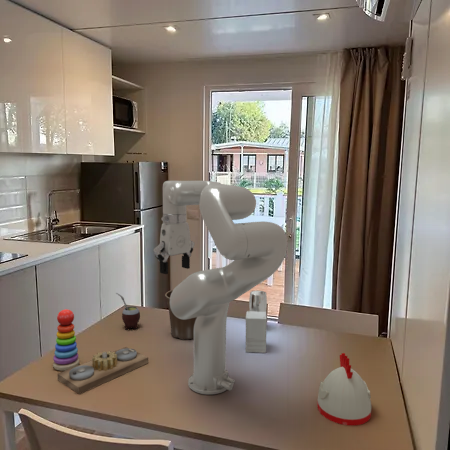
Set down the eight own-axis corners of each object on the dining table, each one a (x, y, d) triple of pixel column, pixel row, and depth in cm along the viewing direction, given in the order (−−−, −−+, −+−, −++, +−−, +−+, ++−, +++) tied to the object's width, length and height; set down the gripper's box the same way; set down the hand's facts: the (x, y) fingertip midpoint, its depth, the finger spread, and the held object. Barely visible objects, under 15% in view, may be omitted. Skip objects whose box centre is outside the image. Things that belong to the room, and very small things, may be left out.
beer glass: (260, 333, 160) (260, 296, 158) (245, 329, 164) (246, 293, 162) (269, 328, 166) (270, 292, 164) (254, 324, 170) (255, 289, 168)
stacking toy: (70, 373, 128) (68, 315, 126) (47, 370, 130) (44, 313, 127) (84, 361, 136) (82, 307, 133) (62, 359, 138) (59, 305, 135)
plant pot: (160, 329, 164) (160, 290, 162) (198, 323, 171) (198, 285, 168) (173, 345, 149) (172, 302, 147) (214, 338, 156) (214, 296, 154)
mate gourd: (143, 326, 166) (143, 290, 164) (129, 333, 160) (128, 295, 158) (130, 322, 170) (129, 287, 168) (116, 329, 164) (115, 292, 162)
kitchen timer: (360, 395, 118) (363, 345, 116) (379, 425, 104) (383, 369, 102) (311, 395, 117) (313, 345, 115) (325, 425, 103) (327, 369, 101)
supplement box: (266, 344, 151) (266, 311, 149) (266, 353, 143) (266, 318, 142) (245, 343, 151) (246, 310, 150) (244, 352, 144) (245, 317, 142)
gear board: (148, 363, 136) (148, 345, 135) (79, 394, 117) (78, 374, 116) (126, 352, 143) (125, 335, 142) (57, 379, 124) (56, 361, 123)
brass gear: (121, 364, 130) (121, 355, 130) (101, 373, 124) (101, 364, 124) (108, 357, 135) (107, 348, 134) (87, 365, 129) (87, 356, 129)
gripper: (162, 222, 124) (162, 277, 126) (201, 217, 137) (201, 267, 139) (146, 220, 129) (147, 273, 131) (185, 215, 142) (185, 264, 144)
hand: (175, 270), depth 135 cm, fingers open, 9 cm apart
